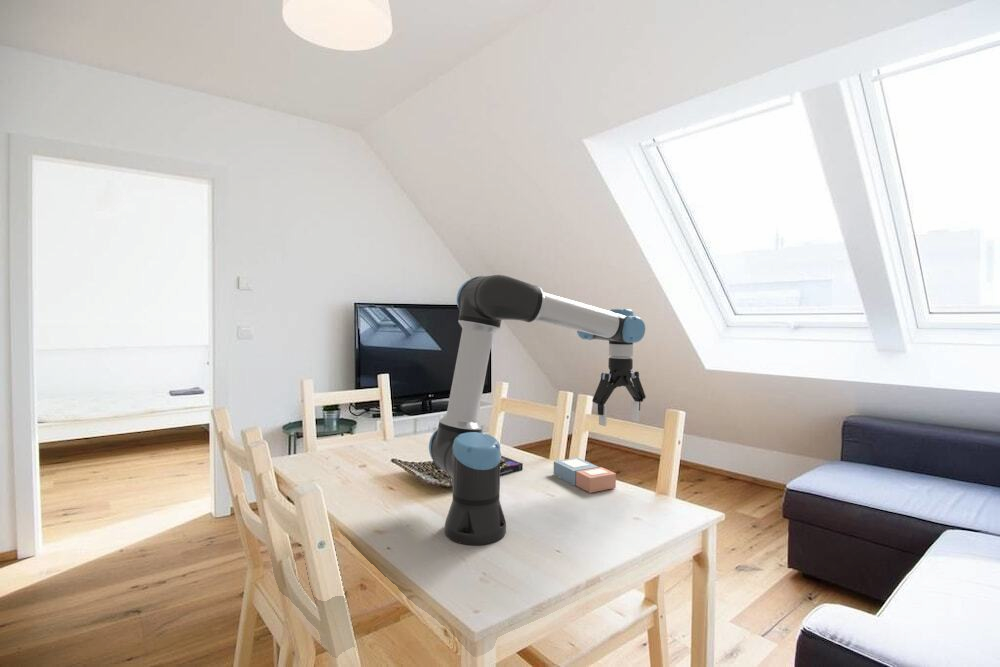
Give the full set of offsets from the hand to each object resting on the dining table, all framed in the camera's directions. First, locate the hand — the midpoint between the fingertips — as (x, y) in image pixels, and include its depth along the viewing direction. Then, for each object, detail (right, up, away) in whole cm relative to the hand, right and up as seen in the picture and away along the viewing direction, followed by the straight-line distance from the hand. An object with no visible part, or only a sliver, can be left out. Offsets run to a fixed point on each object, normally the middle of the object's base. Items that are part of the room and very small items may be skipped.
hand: (619, 423), depth 161 cm
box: (-42, -19, +10) cm, 47 cm away
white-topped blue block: (-13, -19, +4) cm, 23 cm away
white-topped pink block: (-8, -19, -4) cm, 22 cm away
